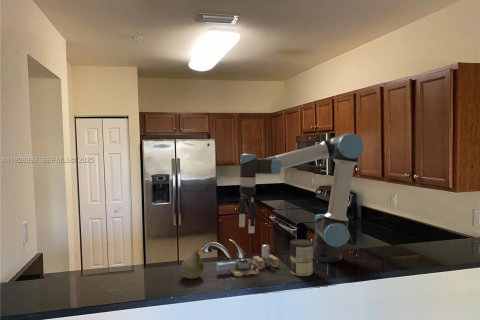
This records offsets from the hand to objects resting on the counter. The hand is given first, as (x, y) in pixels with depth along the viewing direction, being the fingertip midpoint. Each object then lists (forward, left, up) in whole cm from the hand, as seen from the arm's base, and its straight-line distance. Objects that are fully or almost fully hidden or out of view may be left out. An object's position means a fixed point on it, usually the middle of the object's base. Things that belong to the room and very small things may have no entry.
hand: (246, 229), depth 170 cm
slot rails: (-9, +2, -18) cm, 20 cm away
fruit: (+28, +6, -18) cm, 34 cm away
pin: (-9, +2, -18) cm, 20 cm away
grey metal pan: (+8, +6, -16) cm, 19 cm away
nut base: (+4, +6, -18) cm, 19 cm away
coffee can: (-21, +16, -18) cm, 32 cm away
